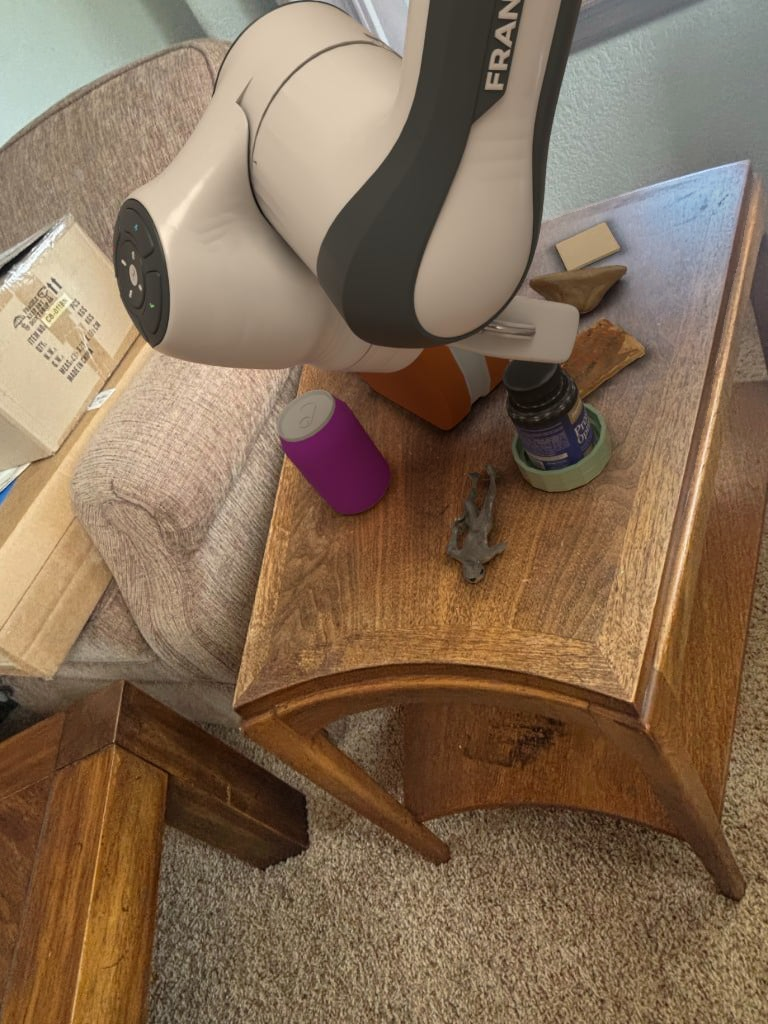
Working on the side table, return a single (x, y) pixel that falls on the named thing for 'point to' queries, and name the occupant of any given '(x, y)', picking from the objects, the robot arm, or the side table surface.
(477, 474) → the figurine
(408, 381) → the alarm clock
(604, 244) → the mat
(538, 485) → the bowl
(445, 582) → the side table surface
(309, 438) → the beverage can
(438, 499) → the side table surface
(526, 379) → the pill bottle
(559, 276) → the fossil
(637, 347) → the shard
